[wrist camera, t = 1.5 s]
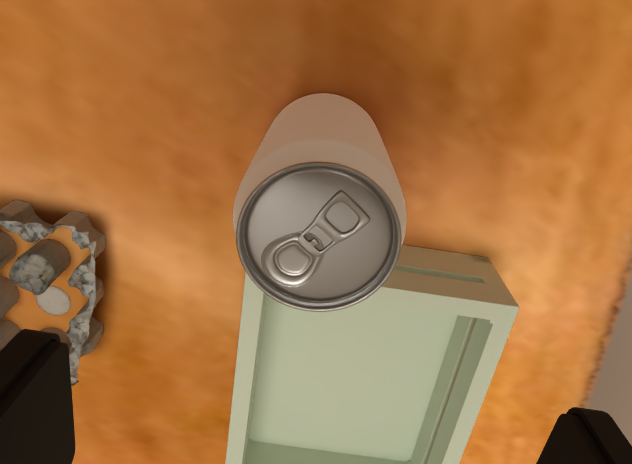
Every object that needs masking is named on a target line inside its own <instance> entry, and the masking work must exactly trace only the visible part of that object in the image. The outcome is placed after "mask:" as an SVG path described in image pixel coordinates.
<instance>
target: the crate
mask: <svg viewBox="0 0 632 464" xmlns="http://www.w3.org/2000/svg"><path fill="white" fill-rule="evenodd" d="M518 310H519V306H518V304H517V303H516V301H515V299H514V298H513V296H512V295H511V293H510V292H509V290H508V288H507V287H506V285H505V284H504V282H503V281H502V279H501V278H500V276H499V274H498V273H497V271H496V270H495V268H494V267H493V265H492V263H491V262H490V260H489V259H488V258H487V257H481V256H474V255H467V254H461V253H454V252H448V251H441V250H434V249H428V248H421V247H414V246H408V245H402V246H401V250H400V254H399V258H398V261H397V263H396V266H395V268H394V270H393V272H392V273H391V275H390V277H389V278H388V279H387V281H386V282H385V283H384V284H383V285H382V286H381V287H380V288H379V289H378V290H377V291H376V292H375V293H374V294H372V295H371V296H370V297H368V298H367V299H365V300H363V301H362V302H360V303H358V304H355V305H353V306H350V307H348V308H344V309H341V310H336V311H328V312H311V311H304V310H299V309H295V308H292V307H289V306H286V305H284V304H281V303H279V302H277V301H276V300H274V299H272V298H271V297H269V296H268V295H266V294H265V293H264V292H263V291H262V290H260V289H259V288H258V287H257V286H256V285H255V283H254V282H253V281H252V280H251V279H250V277H249V276H248V274H247V273H246V276H245V286H244V295H243V304H242V314H241V323H240V333H239V342H238V351H237V361H236V370H235V380H234V389H233V398H232V408H231V417H230V427H229V436H228V445H227V455H226V464H459V462H460V460H461V457H462V455H463V452H464V449H465V447H466V444H467V442H468V439H469V436H470V434H471V431H472V429H473V426H474V423H475V421H476V418H477V416H478V413H479V411H480V408H481V405H482V403H483V400H484V398H485V395H486V392H487V390H488V387H489V385H490V382H491V379H492V377H493V374H494V372H495V369H496V367H497V364H498V361H499V359H500V356H501V354H502V351H503V348H504V346H505V343H506V341H507V338H508V335H509V333H510V330H511V328H512V325H513V323H514V320H515V317H516V315H517V312H518Z"/></svg>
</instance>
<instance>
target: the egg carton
mask: <svg viewBox="0 0 632 464" xmlns="http://www.w3.org/2000/svg"><path fill="white" fill-rule="evenodd" d="M0 225H2V226H4V227H5V228H6V230H7V231H9V232H14V233H18V234H19V235H20V237H21V238H22V239H23V240H25V241H27V242H31V243H35V242H37V241H38V240H39V239H40V238H42V239H44V238H45V237H46V236H47V235H48V234H51V233H53V232H54V231H55V229H56V228H57V227H60V226H64V227H68V228H70V229H71V230H72V239H73V241H74V242H75V243H77V244H78V245H79V247H80V248H81V249H84V248H86V247H87V248H90V255H89V256H88V257H87V258H86V259H85V260H84V261H83V262H82V263H81V264H80V265H79V266H78V267H77V268H76V269H75V270H74V272H73V274H72V276H71V278H70V279H69V280H68V284H69V286H71V287H76V288H78V289H79V290H80V291H81V293H82V294H83V295H84V296H86V297H88V298H89V299H90V300H89V301H88V302H87V303H86V304H85V305H84V306H83V308H82V309H81V310H80V311H79V313H78V314H77V315H76V316H75V317H74V318H73V319H72V320H71V321H70V322H69V325H70V328H69V330H68V331H67V333H65V332H64V331H62V330H60V329H57V328H45V329H43V330H41V331H43V332H50V333H56V334H58V335H59V337H60V341H61V342H62V343H66V344H67V345H68V348H69V360H70V375H71V385H72V386H73V385H75V384H76V383H78V382H79V381H77V378H78V374H77V369H78V366H79V358H80V357H81V356H83V355H86V354H88V353H90V352H92V351H93V350H94V349H95V348H96V346H97V344H98V343H99V340H100V338H101V336H102V334H103V323H101V322H99V321H97V320H96V319H94V318H93V317H92V316H91V315H92V312H93V309H94V308H95V307H96V304H97V303H98V302H99V301H100V299H101V298H102V297H103V295H104V288H103V281H102V280H101V279H99V278H97V277H96V276H95V260H94V259H95V258H96V257H97V256H99V254H100V253H101V252H103V251H104V250H105V246H106V238H105V235H104V234H102V233H101V232H98V231H97V230H96V229H94V228H93V226H92V225H91V223H90V221H89V219H88V216H87V214H86V213H82V212H76V211H70V212H69V213H68V214H67V215H66V216H64V217H63V218H61V219H60V220H58V221H57V222H56V223H55V224H54V225H52V224H48V223H46V222H44V221H43V220H41V219H40V218H39V217H38V216H37V215H36V213H35V212H34V210H33V207H32V205H31V204H30V203H28V202H23V201H18V200H13V201H12V202H10V203H9V204H8V205H6V206H4V207H2V208H1V209H0ZM15 255H16V244H15V242H14V240H13V239H12V238H11V237H10V236H9V235H8V234H7V233H5V232H4V231H2V230H0V268H1V267H2V266H4V265H5V264H6V263H8V262H9V261H10V260H11V259H13V258H14V257H15ZM70 258H71V257H70V254H69V251H68V250H67V248H66V247H65V246H64V245H63V244H61V243H60V242H57V241H55V240H50V239H46V240H42V241H40V242H39V243H37V244H36V245H34V246H33V247H32V248H30V249H29V250H28V251H26V252H25V253H24V254H22V255H21V256H19V257H18V259H17V260H16V262H15V263H14V264H13V266H12V267H11V270H10V273H9V278H10V280H9V279H7V278H5V277H3V276H1V275H0V351H1V350H2V349H3V348H4V347H5V346H6V345H7V343H8V342H9V341H10V340H11V339H12V338H13V337H14V336H15V335H16V334H17V333H19V332H20V331H21V330H20V328H19V327H18V326H17V325H16V324H15V323H13V322H12V321H9V320H7V319H5V318H4V317H3V315H4V314H5V313H6V312H7V311H8V310H9V309H10V308H11V307H12V306H13V305H14V304H16V303H17V301H18V299H19V296H20V295H19V291H18V289H17V286H16V285H15V284H17V285H18V286H20V287H21V288H23V289H26V290H28V291H31V292H33V294H34V295H37V296H36V302H37V304H38V306H39V307H40V308H41V309H42V310H43V311H45V312H46V313H48V314H51V315H62V314H65V313H66V312H67V311H68V310H69V309H70V307H71V302H70V301H71V300H70V297H69V296H68V295H67V293H66V292H65V291H64V290H62V289H61V288H59V287H56V286H50V284H51V283H52V282H53V281H54V280H55V279H56V278H57V277H58V276H59V275H60V274H61V273H62V272H63V271H64V270H65V269H66V268H67V267H68V266H69V264H70ZM14 283H15V284H14Z"/></svg>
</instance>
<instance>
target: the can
mask: <svg viewBox="0 0 632 464" xmlns="http://www.w3.org/2000/svg"><path fill="white" fill-rule="evenodd" d="M406 223H407V216H406V206H405V200H404V196H403V193H402V190H401V187H400V184H399V181H398V179H397V176H396V173H395V171H394V168H393V166H392V163H391V161H390V158H389V156H388V153H387V151H386V148H385V146H384V143H383V141H382V138H381V136H380V134H379V132H378V129H377V127H376V125H375V123H374V122H373V120H372V119H371V117H370V116H369V115H368V113H367V112H366V111H365V110H364V109H363V108H362V107H360V106H359V105H358V104H356V103H355V102H353V101H351V100H350V99H348V98H345V97H342V96H339V95H335V94H328V93H318V94H311V95H307V96H304V97H301V98H299V99H297V100H295V101H293V102H292V103H290V104H289V105H287V106H286V107H285V108H284V109H283V110H282V111H281V112H280V113H279V114H278V115H277V116H276V118H275V119H274V121H273V122H272V124H271V126H270V127H269V129H268V131H267V133H266V135H265V136H264V138H263V140H262V142H261V144H260V146H259V148H258V150H257V152H256V153H255V155H254V157H253V159H252V161H251V163H250V165H249V167H248V169H247V171H246V173H245V175H244V177H243V179H242V181H241V184H240V186H239V189H238V191H237V194H236V198H235V203H234V209H233V227H234V233H235V237H236V244H237V250H238V254H239V258H240V260H241V263H242V265H243V267H244V269H245V271H246V273H247V274H248V276H249V277H250V279H251V280H252V281H253V282H254V283H255V285H256V286H257V287H258V288H259V289H260V290H262V291H263V292H264V293H265V294H266V295H268V296H269V297H271V298H272V299H274V300H276V301H277V302H279V303H281V304H284V305H286V306H289V307H292V308H295V309H299V310H304V311H311V312H328V311H336V310H341V309H344V308H348V307H350V306H353V305H355V304H358V303H360V302H362V301H363V300H365V299H367V298H368V297H370V296H371V295H372V294H374V293H375V292H376V291H377V290H378V289H379V288H380V287H381V286H382V285H383V284H384V283H385V282H386V281H387V279H388V278H389V277H390V275H391V273H392V272H393V270H394V268H395V266H396V263H397V261H398V258H399V254H400V250H401V246H402V244H403V241H404V237H405V232H406Z"/></svg>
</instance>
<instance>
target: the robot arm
mask: <svg viewBox="0 0 632 464" xmlns="http://www.w3.org/2000/svg"><path fill="white" fill-rule="evenodd" d="M74 454H75V434H74V419H73V404H72V389H71V375H70V360H69V348H68V345H67V344H66V343H62V342H61V341H60V337H59V335H58V334H56V333H50V332H43V331H36V330H29V329H24V330H21V331H20V332H19V333H17V334H16V335H15V336H14V337H13V338H12V339H11V340H10V341H9V342H8V343H7V345H6V346H5V347H4V348H3V349H2V350H1V351H0V464H71V463H72V461H73V458H74ZM536 464H632V446H631V445H630V443H629V442H628V440H627V439H626V437H625V436H624V435H623V433H622V432H621V430H620V429H619V427H618V426H617V425H616V423H615V422H614V420H613V419H612V417H610V415H609V414H608V413H606V412H603V411H598V410H591V409H584V408H577V407H574V408H571V409H569V410H568V412H567V413H566V414H562V415H560V416H559V418H558V419H557V422H556V424H555V426H554V428H553V430H552V432H551V434H550V436H549V438H548V440H547V443H546V445H545V447H544V449H543V451H542V453H541V455H540V457H539V459H538V461H537V463H536Z"/></svg>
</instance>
